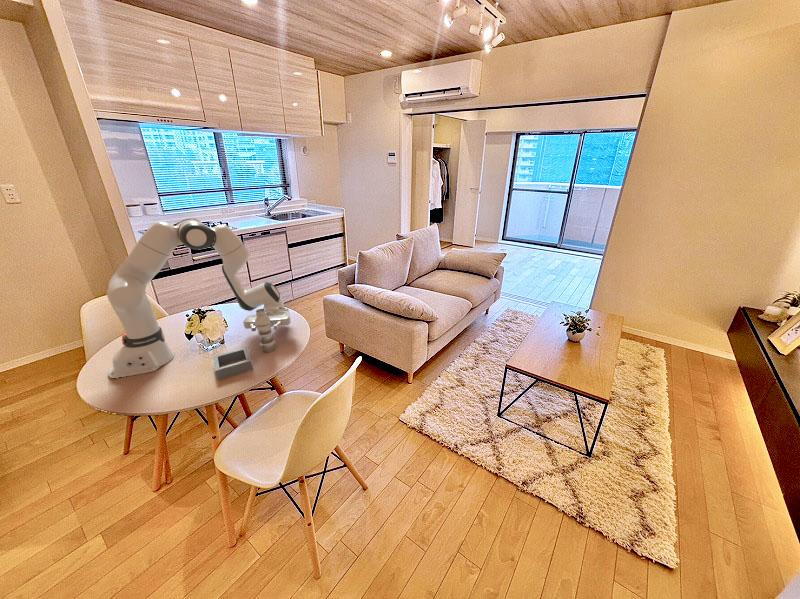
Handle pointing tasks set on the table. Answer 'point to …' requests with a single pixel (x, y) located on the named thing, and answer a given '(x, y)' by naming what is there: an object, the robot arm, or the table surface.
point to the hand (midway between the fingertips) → (264, 328)
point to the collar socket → (232, 368)
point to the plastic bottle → (264, 331)
